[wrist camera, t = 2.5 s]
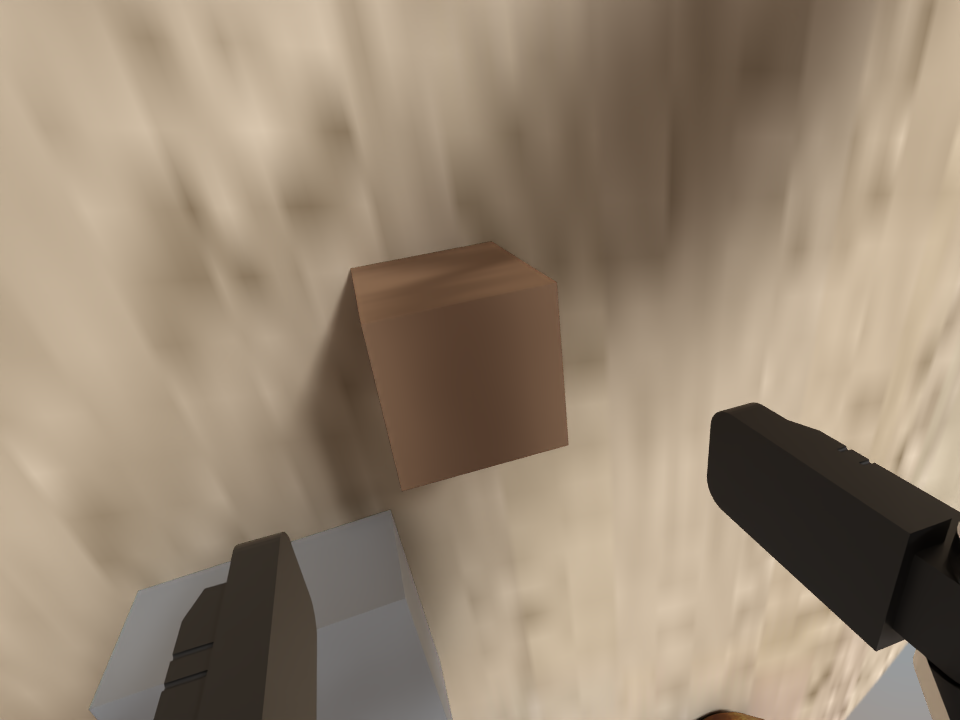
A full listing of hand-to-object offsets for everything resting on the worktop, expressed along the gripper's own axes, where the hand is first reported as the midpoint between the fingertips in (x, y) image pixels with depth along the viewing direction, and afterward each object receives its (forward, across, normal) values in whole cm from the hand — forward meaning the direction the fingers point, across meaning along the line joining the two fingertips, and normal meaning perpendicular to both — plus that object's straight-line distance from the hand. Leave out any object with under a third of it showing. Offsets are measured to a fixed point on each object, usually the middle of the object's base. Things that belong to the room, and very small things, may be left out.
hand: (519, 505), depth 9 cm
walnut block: (+11, 0, 0) cm, 11 cm away
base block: (+11, +7, +13) cm, 19 cm away
